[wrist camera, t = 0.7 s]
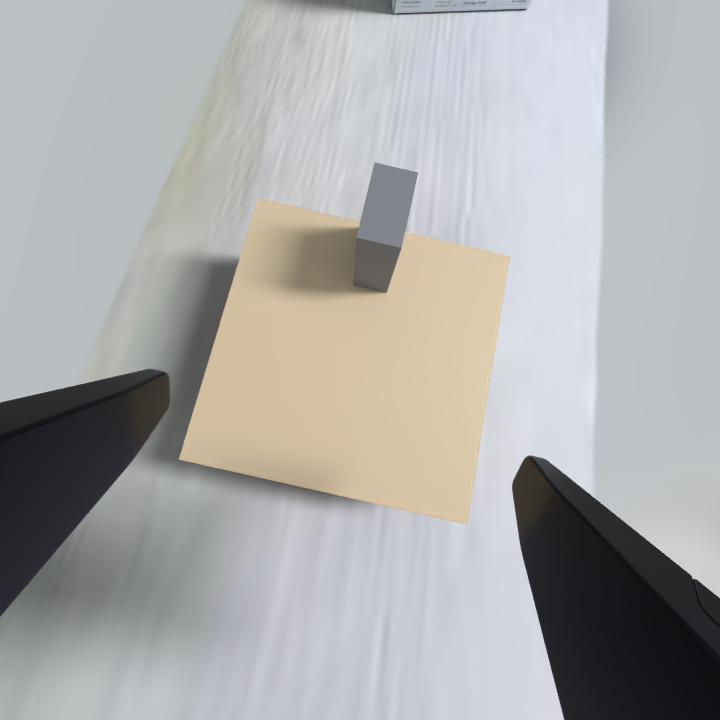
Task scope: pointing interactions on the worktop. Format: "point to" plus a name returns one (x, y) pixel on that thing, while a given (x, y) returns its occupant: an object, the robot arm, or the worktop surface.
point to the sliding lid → (353, 356)
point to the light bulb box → (456, 5)
